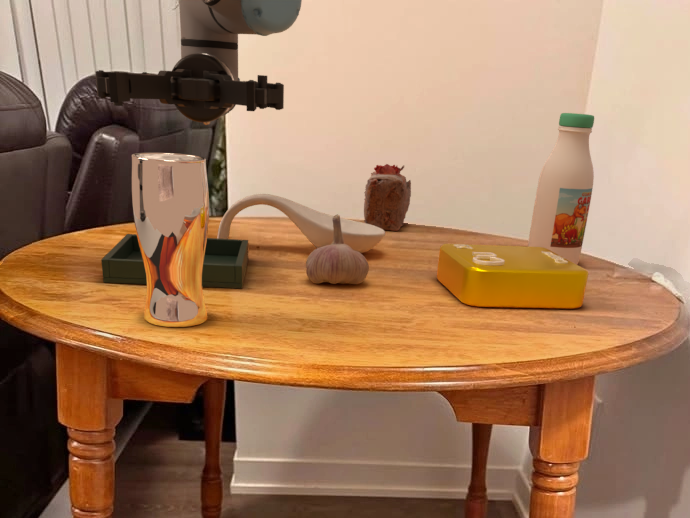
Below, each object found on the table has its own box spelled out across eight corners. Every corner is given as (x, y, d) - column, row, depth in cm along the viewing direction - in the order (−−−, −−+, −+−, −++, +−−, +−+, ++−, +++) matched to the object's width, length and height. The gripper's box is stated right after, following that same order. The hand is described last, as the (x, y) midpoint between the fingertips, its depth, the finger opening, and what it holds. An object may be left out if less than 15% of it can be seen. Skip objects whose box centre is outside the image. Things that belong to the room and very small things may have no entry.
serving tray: (103, 282, 88) (101, 259, 87) (128, 254, 102) (126, 233, 101) (242, 288, 90) (241, 266, 88) (248, 259, 103) (248, 239, 102)
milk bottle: (526, 265, 112) (550, 112, 103) (524, 255, 119) (547, 110, 110) (580, 270, 111) (610, 116, 102) (576, 260, 118) (603, 115, 109)
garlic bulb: (295, 284, 93) (297, 214, 89) (320, 273, 99) (323, 207, 95) (354, 293, 91) (358, 222, 87) (376, 281, 97) (380, 215, 93)
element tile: (587, 310, 91) (596, 268, 89) (465, 307, 88) (470, 264, 86) (540, 279, 104) (547, 243, 102) (432, 276, 101) (436, 239, 99)
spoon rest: (380, 246, 117) (384, 196, 114) (386, 263, 107) (391, 208, 104) (222, 237, 116) (222, 186, 112) (213, 253, 105) (212, 198, 102)
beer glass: (177, 333, 73) (169, 162, 66) (124, 318, 76) (112, 153, 69) (226, 318, 78) (223, 159, 72) (175, 305, 82) (168, 151, 75)
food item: (364, 216, 142) (368, 158, 137) (408, 219, 142) (413, 161, 137) (360, 229, 130) (364, 166, 125) (408, 232, 130) (414, 169, 125)
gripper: (302, 127, 100) (304, 139, 81) (103, 114, 98) (59, 125, 79) (304, 61, 97) (307, 58, 78) (98, 46, 94) (50, 40, 75)
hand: (182, 92), depth 78 cm, fingers open, 13 cm apart
